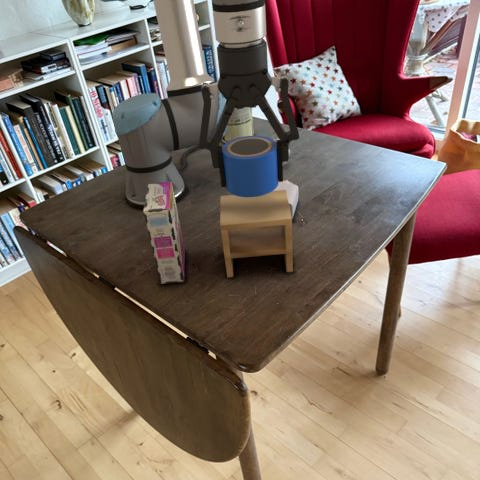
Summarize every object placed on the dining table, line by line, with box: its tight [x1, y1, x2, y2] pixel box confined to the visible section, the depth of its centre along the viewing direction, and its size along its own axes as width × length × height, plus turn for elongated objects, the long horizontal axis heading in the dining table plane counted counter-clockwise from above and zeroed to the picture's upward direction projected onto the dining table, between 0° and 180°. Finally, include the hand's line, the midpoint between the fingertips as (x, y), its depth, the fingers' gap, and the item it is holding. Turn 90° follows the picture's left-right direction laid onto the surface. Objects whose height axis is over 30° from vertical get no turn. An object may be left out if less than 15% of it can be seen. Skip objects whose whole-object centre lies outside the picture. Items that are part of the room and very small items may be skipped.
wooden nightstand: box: [219, 190, 294, 278], centre depth 91 cm, size 11×13×12 cm
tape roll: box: [222, 135, 278, 197], centre depth 81 cm, size 10×10×7 cm
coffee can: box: [221, 98, 255, 144], centre depth 137 cm, size 10×10×14 cm
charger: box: [273, 179, 299, 220], centre depth 109 cm, size 5×9×15 cm
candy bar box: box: [142, 182, 186, 285], centre depth 90 cm, size 11×5×16 cm, turn 4°
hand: (251, 181), depth 83 cm, fingers closed on tape roll, 10 cm apart
